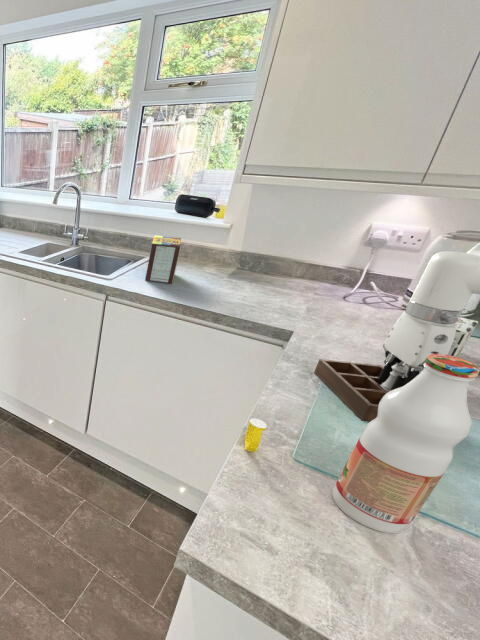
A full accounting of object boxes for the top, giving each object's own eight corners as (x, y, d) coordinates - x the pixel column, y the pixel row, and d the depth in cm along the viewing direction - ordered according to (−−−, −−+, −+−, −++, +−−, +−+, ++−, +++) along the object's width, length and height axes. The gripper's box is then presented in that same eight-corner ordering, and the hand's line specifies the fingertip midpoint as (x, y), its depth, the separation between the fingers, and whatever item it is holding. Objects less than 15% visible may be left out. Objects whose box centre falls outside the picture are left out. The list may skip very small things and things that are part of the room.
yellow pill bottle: (240, 435, 84) (248, 411, 81) (256, 440, 82) (265, 416, 80) (241, 454, 79) (250, 429, 76) (258, 459, 78) (268, 434, 75)
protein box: (173, 273, 177) (181, 237, 171) (172, 284, 165) (181, 246, 158) (147, 269, 181) (154, 234, 175) (144, 280, 169) (151, 243, 162)
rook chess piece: (385, 389, 96) (400, 359, 93) (406, 400, 92) (423, 370, 89) (369, 391, 96) (384, 361, 92) (390, 402, 92) (406, 371, 88)
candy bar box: (418, 372, 106) (449, 313, 99) (445, 381, 102) (480, 321, 95) (403, 384, 101) (435, 324, 94) (431, 395, 97) (468, 332, 90)
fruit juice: (354, 530, 64) (443, 377, 52) (318, 483, 72) (388, 342, 60) (424, 540, 62) (532, 384, 51) (379, 491, 71) (463, 348, 59)
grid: (374, 379, 103) (382, 365, 101) (437, 430, 85) (447, 414, 84) (313, 372, 105) (319, 358, 104) (361, 421, 88) (369, 405, 86)
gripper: (490, 331, 77) (441, 411, 85) (423, 299, 92) (387, 369, 100) (441, 327, 79) (398, 406, 86) (383, 296, 93) (351, 366, 101)
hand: (392, 386), depth 93 cm, fingers closed on rook chess piece, 3 cm apart
